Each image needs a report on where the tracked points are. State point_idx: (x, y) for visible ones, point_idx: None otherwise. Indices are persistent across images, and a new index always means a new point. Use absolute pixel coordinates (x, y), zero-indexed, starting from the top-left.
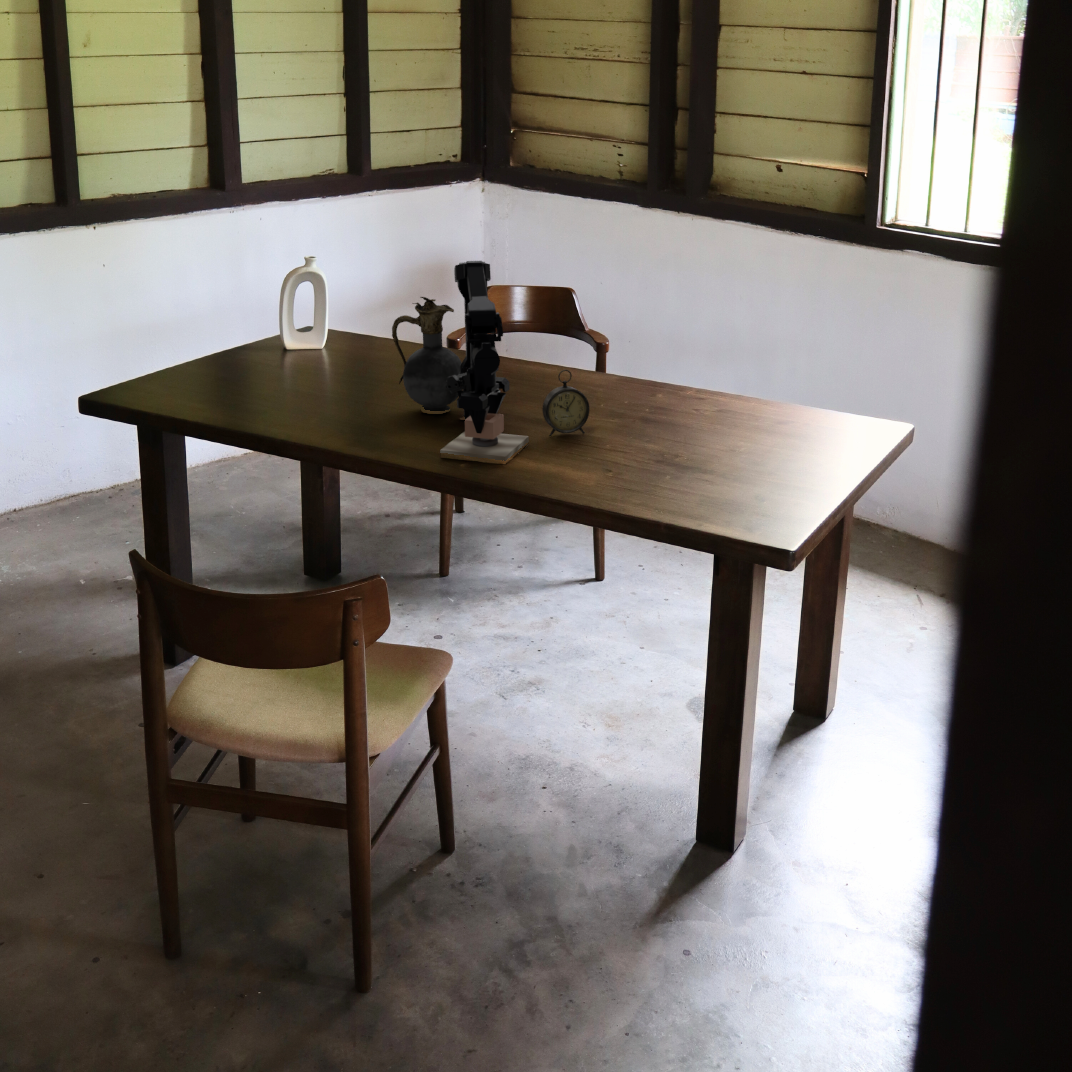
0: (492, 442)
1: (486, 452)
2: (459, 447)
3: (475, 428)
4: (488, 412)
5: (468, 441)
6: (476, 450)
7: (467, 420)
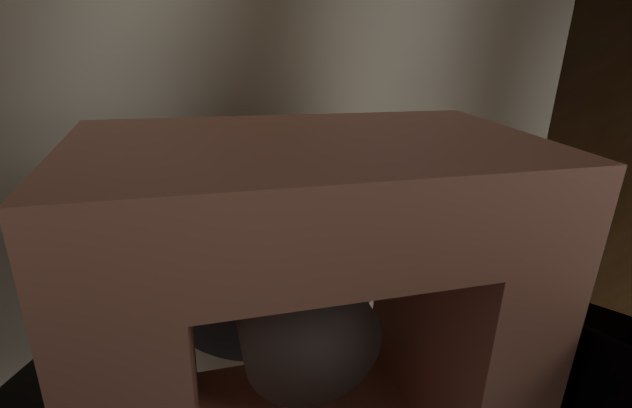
0: (209, 351)
1: (2, 371)
2: (7, 55)
3: (26, 370)
4: (581, 369)
5: (260, 70)
6: (9, 269)
7: (17, 277)
